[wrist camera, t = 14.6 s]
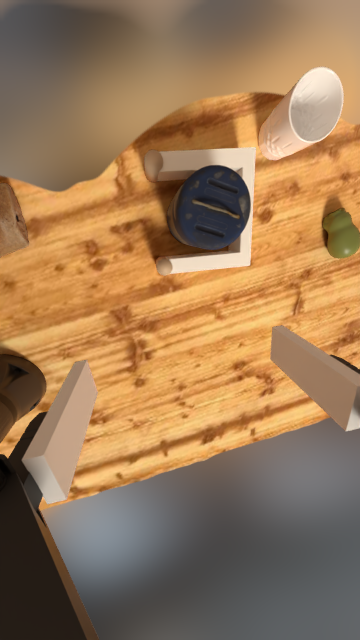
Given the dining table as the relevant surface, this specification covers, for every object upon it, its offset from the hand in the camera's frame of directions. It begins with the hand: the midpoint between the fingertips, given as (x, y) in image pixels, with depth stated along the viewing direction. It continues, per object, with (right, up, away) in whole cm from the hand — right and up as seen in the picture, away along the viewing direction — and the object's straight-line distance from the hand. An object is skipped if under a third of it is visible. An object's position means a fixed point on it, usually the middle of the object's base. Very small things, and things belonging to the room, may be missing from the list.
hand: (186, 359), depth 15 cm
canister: (+2, +22, +26) cm, 34 cm away
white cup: (+17, +35, +23) cm, 45 cm away
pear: (+33, +22, +31) cm, 50 cm away
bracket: (+2, +22, +26) cm, 34 cm away
